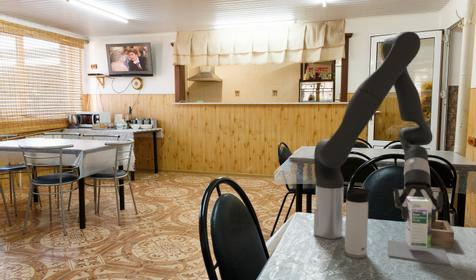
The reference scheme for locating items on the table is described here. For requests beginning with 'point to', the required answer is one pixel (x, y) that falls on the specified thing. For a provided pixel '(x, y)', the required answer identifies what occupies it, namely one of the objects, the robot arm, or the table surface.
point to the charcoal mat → (417, 253)
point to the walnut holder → (442, 234)
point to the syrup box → (418, 222)
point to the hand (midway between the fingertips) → (418, 221)
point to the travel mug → (356, 223)
